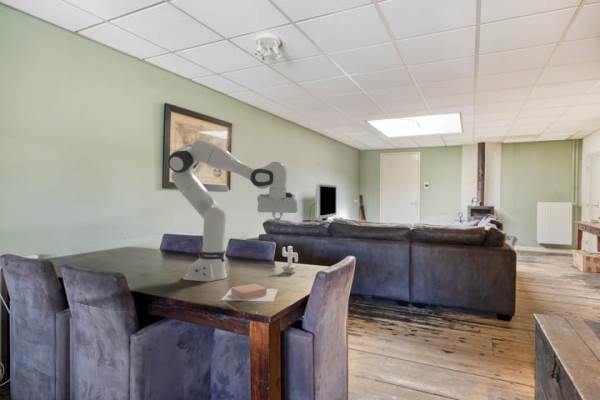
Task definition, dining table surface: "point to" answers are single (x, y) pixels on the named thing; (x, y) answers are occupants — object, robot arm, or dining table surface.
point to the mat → (269, 297)
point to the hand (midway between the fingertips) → (277, 221)
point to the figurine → (289, 260)
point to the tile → (248, 291)
